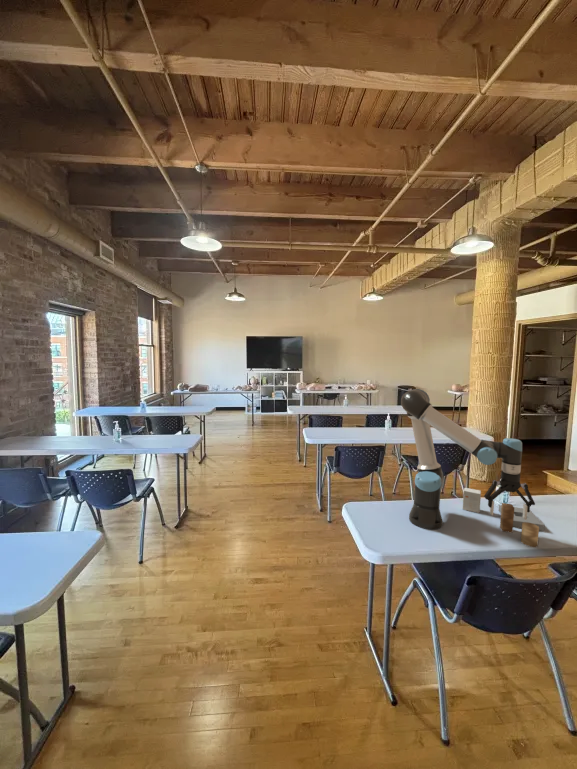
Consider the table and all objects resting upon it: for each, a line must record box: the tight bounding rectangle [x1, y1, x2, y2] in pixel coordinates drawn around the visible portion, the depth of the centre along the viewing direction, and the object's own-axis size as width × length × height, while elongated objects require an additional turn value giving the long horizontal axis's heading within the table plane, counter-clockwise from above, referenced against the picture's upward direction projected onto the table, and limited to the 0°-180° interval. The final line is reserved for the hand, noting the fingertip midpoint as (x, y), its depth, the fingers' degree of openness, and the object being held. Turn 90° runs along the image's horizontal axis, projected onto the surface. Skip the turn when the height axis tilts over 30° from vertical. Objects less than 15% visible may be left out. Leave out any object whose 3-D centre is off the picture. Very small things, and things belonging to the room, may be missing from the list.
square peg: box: [499, 502, 515, 533], centre depth 159 cm, size 4×4×12 cm
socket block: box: [498, 504, 545, 532], centre depth 170 cm, size 14×18×3 cm
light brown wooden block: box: [520, 522, 540, 548], centre depth 148 cm, size 6×6×8 cm
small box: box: [462, 487, 482, 514], centre depth 180 cm, size 8×6×10 cm
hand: (507, 516), depth 159 cm, fingers open, 13 cm apart
